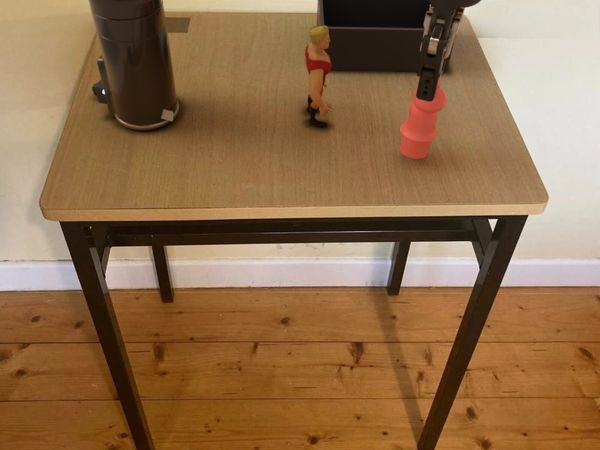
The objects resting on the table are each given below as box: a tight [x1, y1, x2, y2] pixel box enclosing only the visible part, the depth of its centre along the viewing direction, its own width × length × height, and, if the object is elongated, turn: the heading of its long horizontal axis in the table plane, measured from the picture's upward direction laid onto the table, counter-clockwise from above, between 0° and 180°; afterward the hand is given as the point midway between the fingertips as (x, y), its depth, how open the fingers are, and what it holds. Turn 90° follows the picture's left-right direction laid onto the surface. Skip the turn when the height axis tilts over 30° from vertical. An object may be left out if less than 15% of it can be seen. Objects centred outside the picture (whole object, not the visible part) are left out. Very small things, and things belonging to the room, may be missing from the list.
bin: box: [316, 0, 455, 73], centre depth 104 cm, size 21×13×8 cm, turn 91°
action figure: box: [303, 25, 333, 128], centre depth 88 cm, size 10×4×15 cm, turn 6°
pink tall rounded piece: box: [399, 75, 448, 160], centre depth 80 cm, size 5×5×15 cm
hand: (429, 86), depth 78 cm, fingers closed on pink tall rounded piece, 4 cm apart
